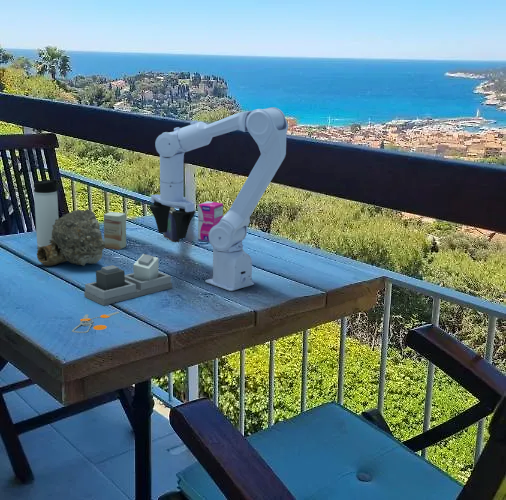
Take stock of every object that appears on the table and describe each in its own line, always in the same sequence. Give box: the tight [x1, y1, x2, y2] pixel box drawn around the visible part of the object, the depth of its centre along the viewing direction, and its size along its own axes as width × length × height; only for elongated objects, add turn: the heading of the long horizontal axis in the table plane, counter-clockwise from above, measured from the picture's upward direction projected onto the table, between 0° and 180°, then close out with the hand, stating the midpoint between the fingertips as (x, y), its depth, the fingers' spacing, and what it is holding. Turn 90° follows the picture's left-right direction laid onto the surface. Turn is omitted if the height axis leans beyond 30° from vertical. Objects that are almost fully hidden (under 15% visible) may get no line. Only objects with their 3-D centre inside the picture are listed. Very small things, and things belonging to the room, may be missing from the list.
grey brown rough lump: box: [36, 208, 106, 267], centre depth 177 cm, size 18×14×15 cm
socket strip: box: [83, 271, 173, 306], centre depth 157 cm, size 8×19×3 cm, turn 135°
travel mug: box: [33, 178, 60, 250], centre depth 191 cm, size 6×7×20 cm
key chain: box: [71, 311, 120, 334], centre depth 139 cm, size 13×7×1 cm, turn 172°
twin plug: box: [95, 264, 126, 291], centre depth 153 cm, size 4×5×6 cm
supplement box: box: [197, 200, 224, 243], centre depth 205 cm, size 6×6×12 cm
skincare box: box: [103, 211, 127, 251], centre depth 195 cm, size 5×4×10 cm
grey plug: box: [132, 253, 160, 281], centre depth 159 cm, size 4×5×6 cm
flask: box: [162, 207, 180, 243], centre depth 206 cm, size 9×3×11 cm, turn 28°
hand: (172, 235), depth 169 cm, fingers open, 7 cm apart
